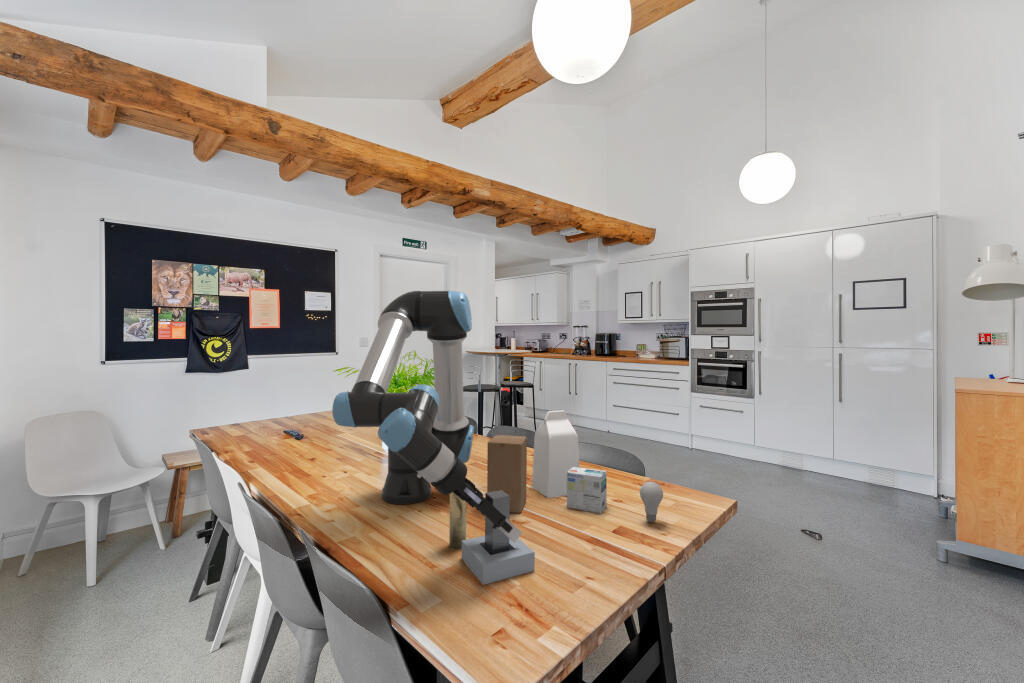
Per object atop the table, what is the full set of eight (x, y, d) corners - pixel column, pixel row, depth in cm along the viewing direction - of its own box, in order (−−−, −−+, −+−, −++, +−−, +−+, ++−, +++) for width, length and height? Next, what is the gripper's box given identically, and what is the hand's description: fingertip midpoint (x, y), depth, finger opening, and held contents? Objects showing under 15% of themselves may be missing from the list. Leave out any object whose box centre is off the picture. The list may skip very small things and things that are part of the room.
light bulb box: (607, 506, 130) (607, 470, 130) (601, 514, 124) (602, 476, 124) (572, 500, 135) (572, 465, 135) (565, 508, 128) (566, 471, 128)
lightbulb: (651, 528, 114) (651, 487, 114) (634, 520, 120) (634, 480, 120) (667, 524, 117) (668, 483, 117) (651, 516, 123) (651, 477, 123)
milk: (548, 498, 136) (548, 415, 136) (531, 486, 147) (532, 409, 147) (580, 493, 141) (581, 412, 141) (562, 482, 152) (563, 407, 152)
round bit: (445, 546, 104) (446, 487, 104) (457, 540, 107) (458, 483, 107) (457, 551, 102) (458, 491, 102) (469, 544, 105) (470, 486, 105)
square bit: (492, 564, 93) (493, 498, 93) (484, 555, 97) (485, 492, 97) (509, 559, 95) (509, 495, 95) (501, 551, 99) (501, 490, 98)
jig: (483, 584, 88) (483, 565, 88) (461, 558, 98) (461, 540, 98) (534, 570, 93) (534, 552, 93) (508, 546, 104) (508, 530, 104)
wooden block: (520, 513, 124) (521, 443, 124) (486, 510, 126) (487, 441, 126) (526, 501, 134) (527, 436, 133) (494, 498, 136) (495, 434, 135)
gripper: (418, 472, 96) (486, 532, 104) (443, 497, 81) (520, 565, 89) (441, 445, 99) (506, 506, 106) (470, 465, 84) (542, 533, 91)
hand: (512, 532), depth 98 cm, fingers closed on square bit, 4 cm apart
